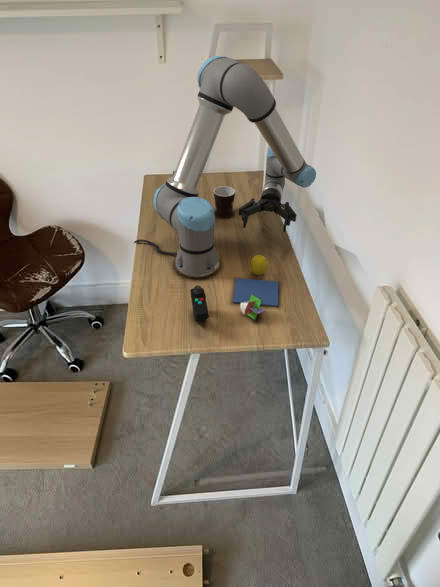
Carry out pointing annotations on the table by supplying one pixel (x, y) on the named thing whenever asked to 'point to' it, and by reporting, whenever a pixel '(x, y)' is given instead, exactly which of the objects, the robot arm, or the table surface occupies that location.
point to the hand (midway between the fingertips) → (264, 226)
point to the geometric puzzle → (252, 307)
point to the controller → (199, 304)
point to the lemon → (258, 264)
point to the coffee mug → (224, 200)
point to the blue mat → (256, 291)
